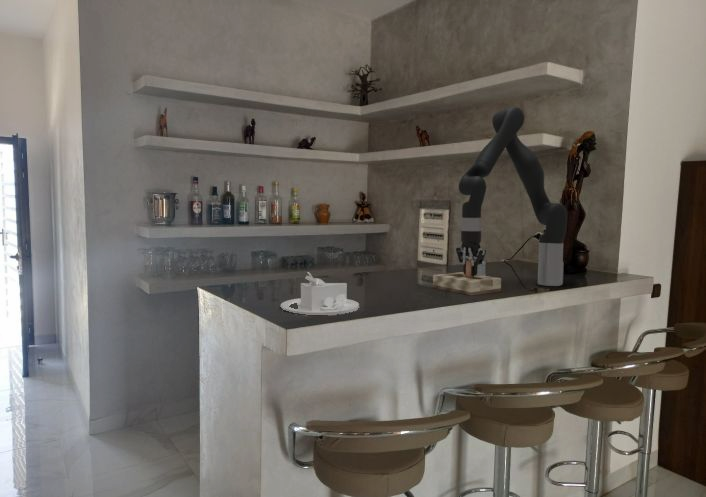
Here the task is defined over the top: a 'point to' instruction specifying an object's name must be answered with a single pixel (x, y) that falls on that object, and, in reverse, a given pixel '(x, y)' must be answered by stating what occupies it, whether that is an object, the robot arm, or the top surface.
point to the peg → (468, 269)
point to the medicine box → (481, 269)
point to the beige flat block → (467, 283)
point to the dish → (321, 299)
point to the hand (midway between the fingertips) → (470, 274)
